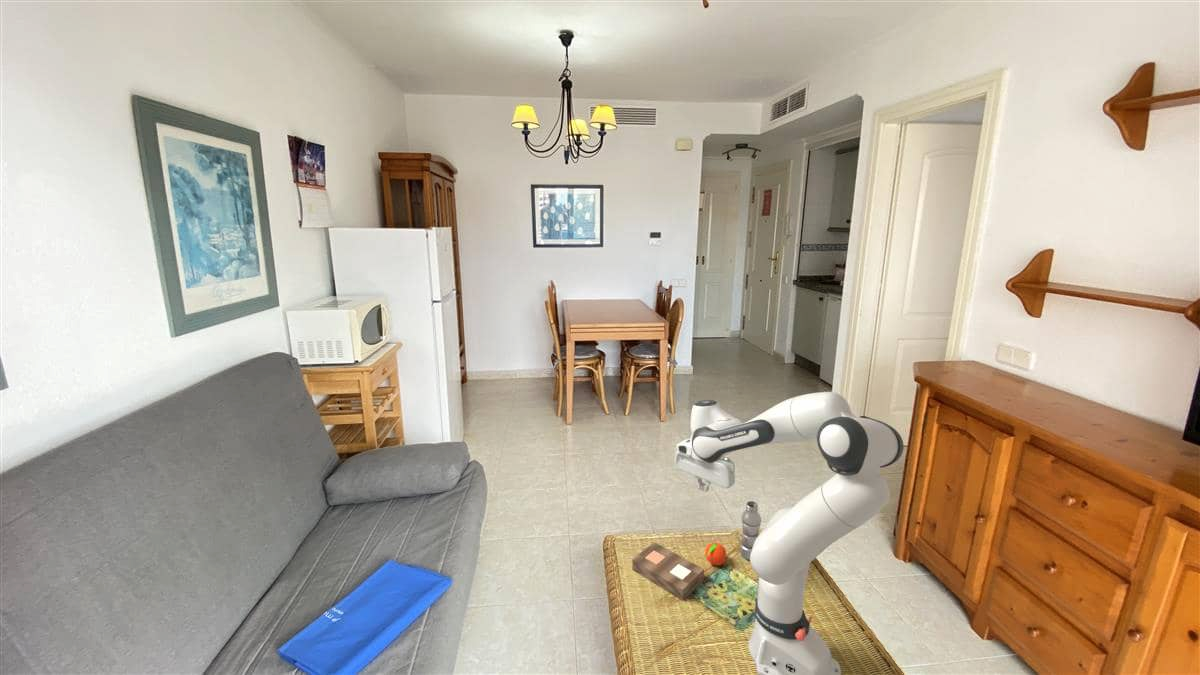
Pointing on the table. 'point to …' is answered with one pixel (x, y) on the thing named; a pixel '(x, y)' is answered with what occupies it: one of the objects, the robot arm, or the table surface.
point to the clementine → (715, 553)
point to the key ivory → (680, 572)
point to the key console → (661, 571)
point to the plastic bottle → (749, 528)
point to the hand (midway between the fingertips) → (703, 489)
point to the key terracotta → (655, 557)
